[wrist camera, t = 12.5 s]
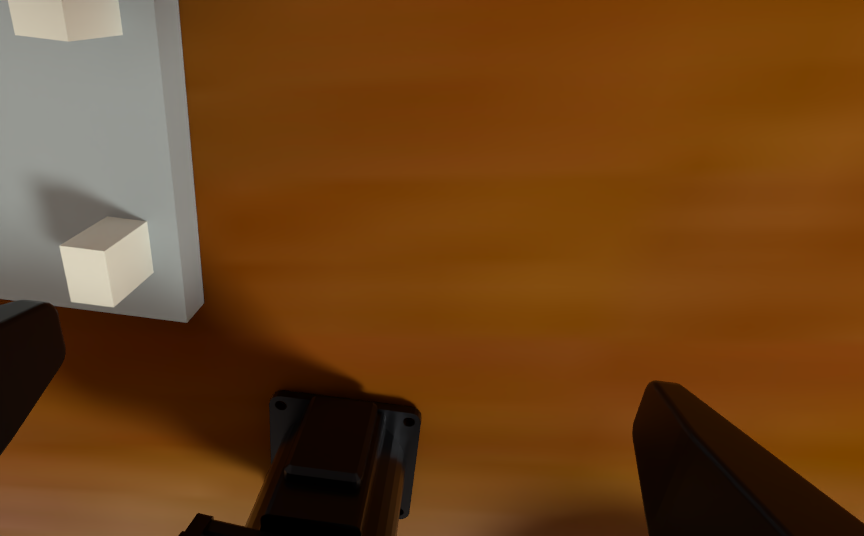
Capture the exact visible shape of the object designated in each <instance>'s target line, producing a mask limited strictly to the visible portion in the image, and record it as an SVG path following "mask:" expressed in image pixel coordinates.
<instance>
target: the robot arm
mask: <svg viewBox="0 0 864 536" xmlns="http://www.w3.org/2000/svg"><path fill="white" fill-rule="evenodd" d="M65 350H66V348H65V343H64V338H63V334H62V329H61V325H60V320H59V316H58V312H57V309H56V308H55V307H54V305H52V304H51V303H49V302H42V301H35V300H27V299H24V300H17V301H14V302H10V303H7V304H3V305H0V455H1V454H2V452H3V451H4V450H5V448H6V447H7V446H8V444H9V443H10V441H11V440H12V438H13V437H14V436H15V434H16V433H17V431H18V430H19V428H20V427H21V425H22V424H23V422H24V421H25V419H26V418H27V416H28V415H29V413H30V412H31V410H32V409H33V407H34V406H35V404H36V403H37V401H38V400H39V398H40V397H41V395H42V393H43V392H44V390H45V389H46V387H47V386H48V384H49V383H50V381H51V380H52V378H53V377H54V375H55V374H56V372H57V371H58V369H59V368H60V366H61V365H62V363H63V360H64V357H65ZM279 401H283V402H285V403H286V404H282V403H280V402H279ZM269 409H270V444H271V467H270V469H269V471H268V474H267V476H266V479H265V481H264V483H263V486H262V488H261V490H260V493H259V495H258V497H257V500H256V502H255V504H254V507H253V509H252V511H251V514H250V516H249V518H248V521H247V523H246V525H245V527H244V526H240V525H235V524H231V523H226V522H222V521H218V520H213V516H209V515H204V514H200V513H198V514H197V515H196V516H195V518H194V519H193V521H192V522H191V523H190V525H189V526H188V528H187V529H186V530H185V532H184V531H182V532H181V533H180V534H179V536H396V535H397V528H398V521H399V519H404V518H406V517H407V516H408V515H409V510H410V502H411V494H412V487H413V479H414V471H415V464H416V456H417V448H418V441H419V433H420V425H421V413H420V411H419V410H418V409H416V408H414V407H409V406H401V405H394V404H386V403H378V402H370V401H363V400H355V399H347V398H340V397H332V396H324V395H316V394H309V393H301V392H293V391H285V390H279V391H277V392H275V393H274V394H273V396H272V398H271V400H270V403H269ZM409 417H410V418H413V419H414V420H407V419H406V418H409ZM632 434H633V443H634V449H635V455H636V462H637V468H638V474H639V480H640V486H641V493H642V499H643V505H644V511H645V517H646V523H647V528H648V533H649V536H864V523H862V522H861V521H860V520H858V519H857V518H856V517H854V516H853V515H852V514H851V513H849V512H848V511H847V510H845V509H844V508H843V507H841V506H840V505H839V504H837V503H836V502H835V501H833V500H832V499H831V498H829V497H828V496H827V495H825V494H824V493H823V492H821V491H820V490H819V489H818V488H816V487H815V486H814V485H812V484H811V483H810V482H808V481H807V480H806V479H804V478H803V477H802V476H800V475H799V474H798V473H796V472H795V471H794V470H792V469H791V468H790V467H788V466H787V465H786V464H785V463H783V462H782V461H781V460H779V459H778V458H777V457H775V456H774V455H773V454H771V453H770V452H769V451H767V450H766V449H765V448H763V447H762V446H761V445H759V444H758V443H757V442H755V441H754V440H753V439H752V438H750V437H749V436H748V435H746V434H745V433H744V432H742V431H741V430H740V429H738V428H737V427H736V426H734V425H733V424H732V423H730V422H729V421H728V420H726V419H725V418H724V417H722V416H721V415H720V414H719V413H717V412H716V411H715V410H713V409H712V408H711V407H709V406H708V405H707V404H705V403H704V402H703V401H701V400H700V399H699V398H697V397H696V396H695V395H693V394H692V393H691V392H690V391H688V390H687V389H686V388H684V387H683V386H682V385H680V384H677V383H671V382H663V381H652V382H650V383H649V384H648V385H647V387H646V389H645V392H644V394H643V397H642V400H641V403H640V406H639V409H638V411H637V414H636V417H635V420H634V423H633V431H632ZM400 508H401V509H400Z"/></svg>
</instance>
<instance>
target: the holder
mask: <svg viewBox="0 0 864 536" xmlns="http://www.w3.org/2000/svg"><path fill="white" fill-rule="evenodd" d="M0 299H5V300H13V301H17V300H24V299H27V300H35V301H42V302H49V303H51V304H52V305H54V306H60V307H68V308H76V309H83V310H91V311H99V312H107V313H114V314H122V315H130V316H138V317H146V318H153V319H161V320H169V321H177V322H185V323H187V322H188V321H189V320H190V319H191V318H192V317H193V315H194V314H195V313H196V312H197V311H198V310H199V309H200V307H201V306H202V305H203V304H204V294H203V283H202V271H201V260H200V248H199V236H198V225H197V213H196V202H195V190H194V178H193V167H192V155H191V144H190V132H189V121H188V109H187V97H186V86H185V74H184V63H183V51H182V39H181V28H180V16H179V5H178V0H0Z"/></svg>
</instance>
